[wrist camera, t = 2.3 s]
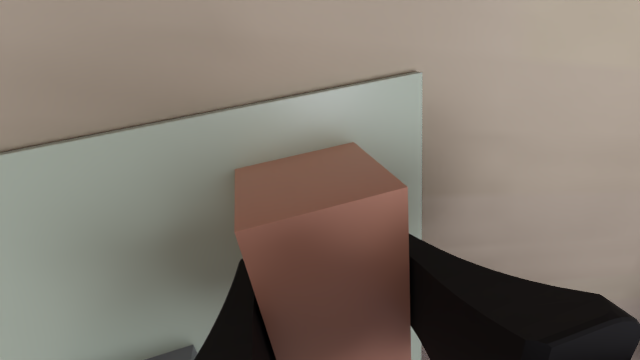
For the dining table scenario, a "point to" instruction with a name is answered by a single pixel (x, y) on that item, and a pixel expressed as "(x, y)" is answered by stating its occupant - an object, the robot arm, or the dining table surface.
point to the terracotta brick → (327, 254)
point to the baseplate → (167, 217)
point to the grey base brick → (178, 354)
